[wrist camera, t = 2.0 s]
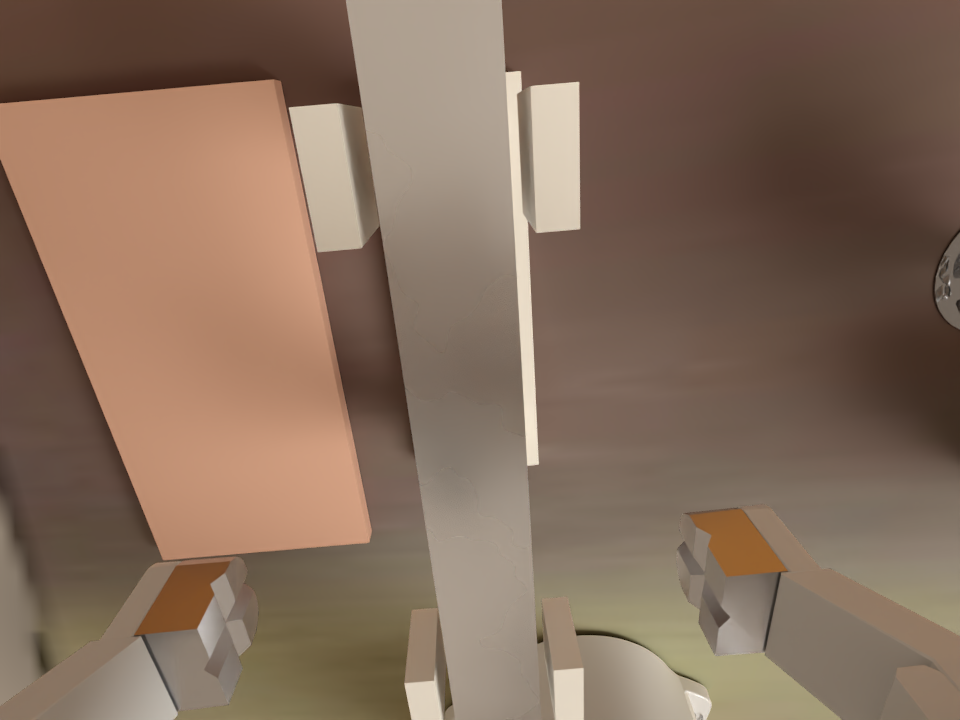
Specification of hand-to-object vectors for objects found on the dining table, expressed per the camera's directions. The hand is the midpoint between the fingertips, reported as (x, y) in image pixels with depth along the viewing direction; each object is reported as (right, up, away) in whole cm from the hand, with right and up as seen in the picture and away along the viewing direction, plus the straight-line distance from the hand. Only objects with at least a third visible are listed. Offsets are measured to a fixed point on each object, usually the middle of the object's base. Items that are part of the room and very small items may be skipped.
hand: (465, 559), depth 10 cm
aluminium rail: (0, +2, +4) cm, 5 cm away
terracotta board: (-13, +4, +18) cm, 22 cm away
